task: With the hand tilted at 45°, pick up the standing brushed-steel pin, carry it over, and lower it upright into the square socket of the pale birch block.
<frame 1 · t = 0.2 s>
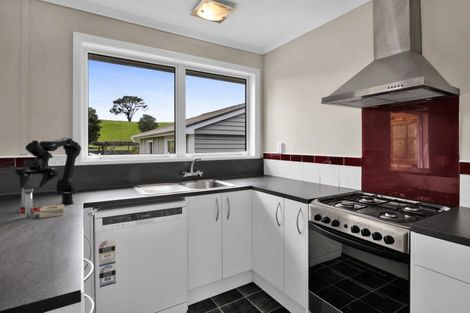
hand: (30, 187, 130), 15 cm above the countertop, tool tilted 35°, fingers open, 9 cm apart
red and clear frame: (30, 211, 143), on the countertop
steel pin: (29, 217, 129), on the countertop
socket block: (52, 214, 135), on the countertop
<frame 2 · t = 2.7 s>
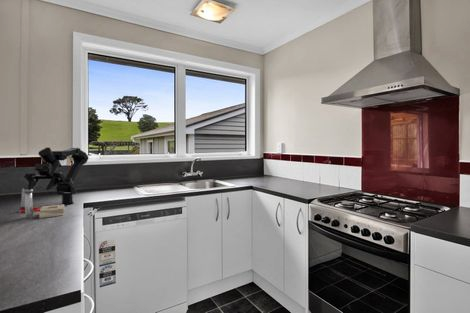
hand: (37, 190, 135), 13 cm above the countertop, tool tilted 45°, fingers open, 9 cm apart
nothing on the countertop moved.
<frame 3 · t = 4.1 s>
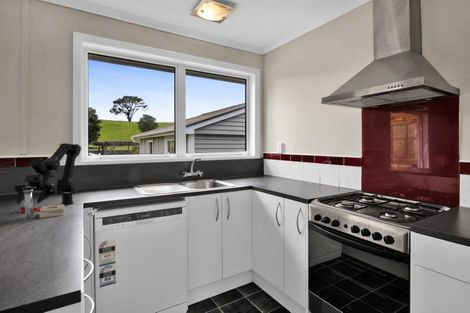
hand: (27, 203, 128), 7 cm above the countertop, tool tilted 45°, fingers open, 9 cm apart
nothing on the countertop moved.
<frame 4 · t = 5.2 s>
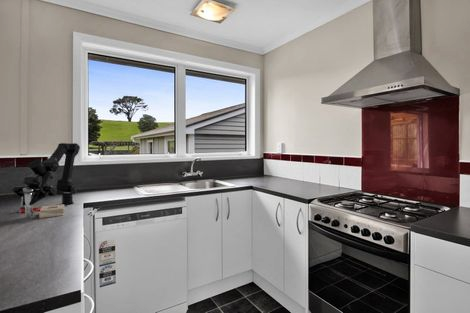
hand: (26, 205, 127), 7 cm above the countertop, tool tilted 45°, fingers closed on steel pin, 3 cm apart
steel pin: (29, 217, 129), on the countertop, touching gripper
everything else where it was.
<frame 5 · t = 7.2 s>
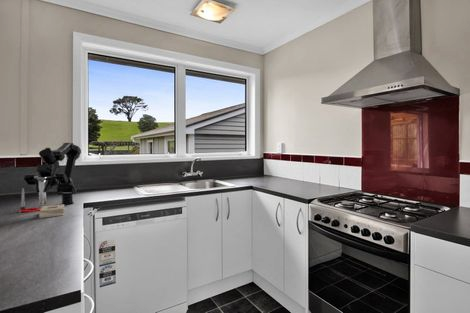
hand: (41, 192, 130), 12 cm above the countertop, tool tilted 45°, fingers closed on steel pin, 3 cm apart
steel pin: (42, 204, 132), point 6 cm above the countertop, touching gripper
everything else where it was.
when the fingers open (8 cm above the countertop, at t = 9.0 s): steel pin drops 1 cm, resting in socket block.
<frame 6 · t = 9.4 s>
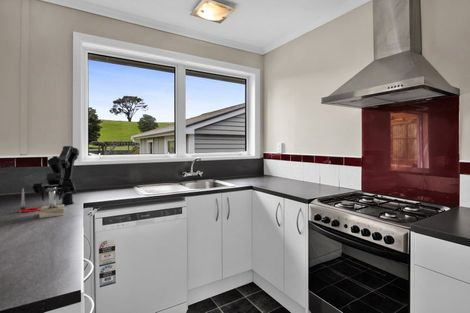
hand: (51, 199, 133), 8 cm above the countertop, tool tilted 45°, fingers open, 7 cm apart
steel pin: (52, 214, 135), resting in socket block
everything else where it was.
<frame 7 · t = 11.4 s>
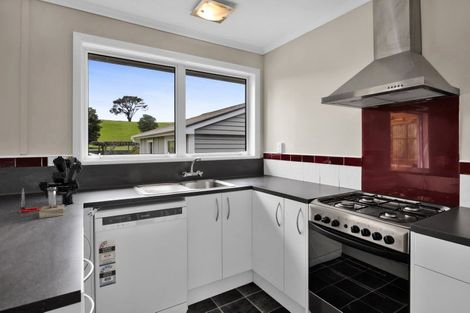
hand: (56, 197, 141), 8 cm above the countertop, tool tilted 45°, fingers open, 9 cm apart
nothing on the countertop moved.
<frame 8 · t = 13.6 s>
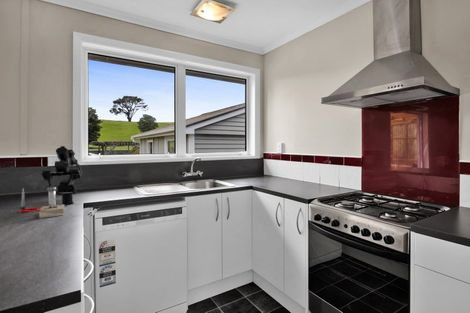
hand: (59, 185, 146), 14 cm above the countertop, tool tilted 45°, fingers open, 9 cm apart
nothing on the countertop moved.
at the end: steel pin 0.0 cm off-centre on the socket block, point 0.0 cm above the socket block's base; steel pin tilted 0°; the gripper is holding nothing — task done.
